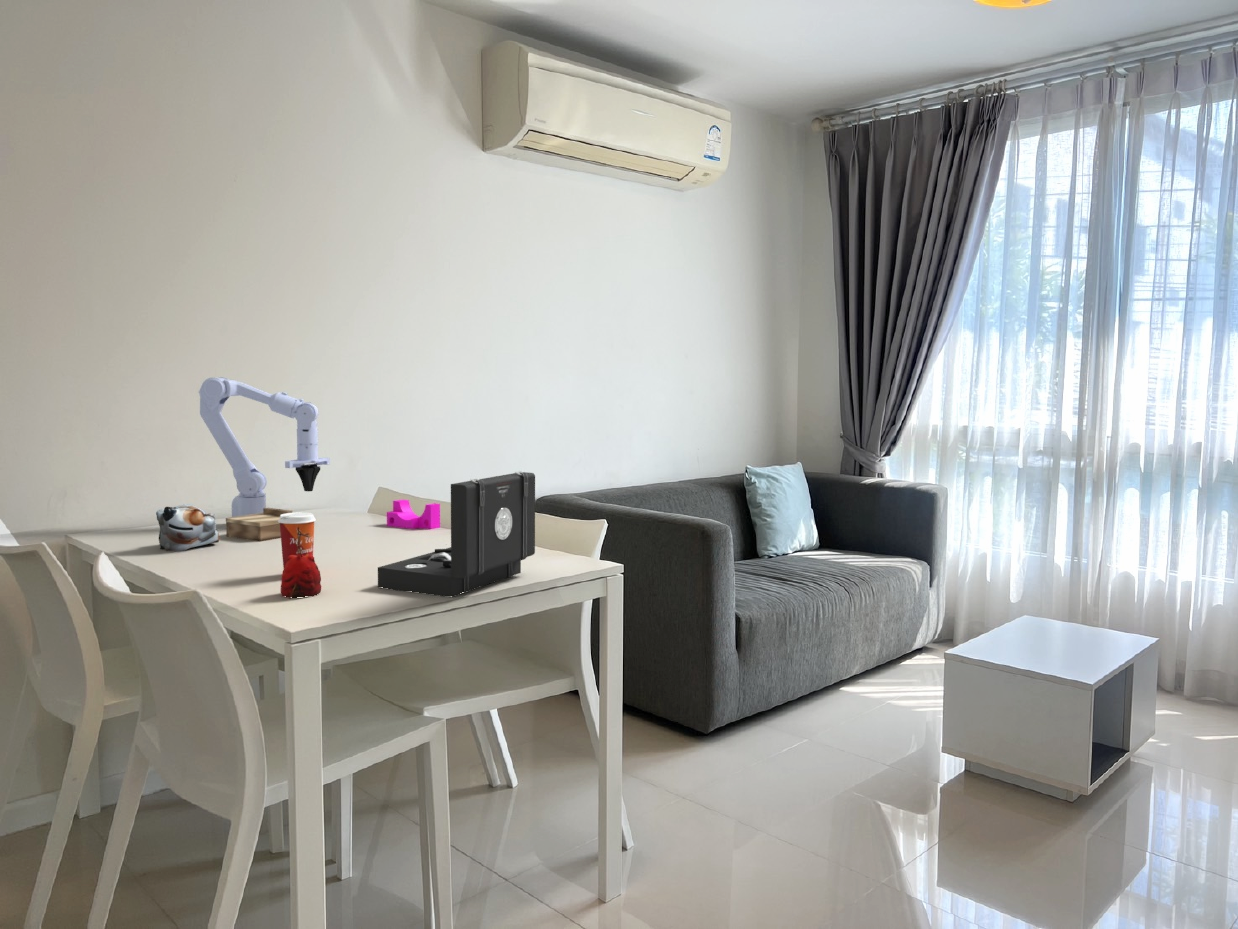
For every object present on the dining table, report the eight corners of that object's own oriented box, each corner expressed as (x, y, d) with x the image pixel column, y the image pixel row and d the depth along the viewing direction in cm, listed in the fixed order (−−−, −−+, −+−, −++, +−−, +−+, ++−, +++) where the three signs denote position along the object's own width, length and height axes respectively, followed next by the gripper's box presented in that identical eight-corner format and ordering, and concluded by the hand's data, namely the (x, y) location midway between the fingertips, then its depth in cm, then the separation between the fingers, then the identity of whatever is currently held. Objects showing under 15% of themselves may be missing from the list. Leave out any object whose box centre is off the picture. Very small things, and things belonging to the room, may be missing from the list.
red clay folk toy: (323, 594, 184) (322, 521, 182) (318, 603, 177) (316, 526, 175) (284, 595, 182) (282, 521, 181) (276, 604, 176) (275, 527, 174)
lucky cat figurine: (229, 538, 237) (224, 491, 231) (211, 564, 226) (205, 516, 220) (170, 533, 236) (163, 486, 230) (149, 559, 226) (141, 510, 219)
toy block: (386, 527, 265) (386, 501, 265) (402, 524, 271) (402, 499, 270) (424, 532, 258) (424, 506, 257) (440, 529, 263) (440, 503, 262)
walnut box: (226, 536, 246) (226, 522, 245) (264, 530, 256) (263, 516, 256) (260, 542, 239) (260, 527, 238) (298, 535, 249) (297, 521, 248)
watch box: (432, 567, 212) (431, 463, 209) (536, 580, 200) (537, 469, 197) (355, 591, 188) (353, 473, 186) (469, 607, 176) (468, 481, 174)
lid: (225, 521, 245) (225, 512, 245) (263, 516, 255) (263, 507, 255) (260, 526, 238) (259, 517, 238) (297, 520, 248) (297, 511, 248)
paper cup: (295, 584, 192) (293, 518, 191) (271, 579, 196) (270, 515, 195) (325, 577, 199) (323, 513, 197) (301, 573, 203) (300, 510, 201)
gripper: (296, 446, 256) (297, 494, 258) (336, 443, 269) (337, 489, 270) (279, 445, 260) (280, 492, 261) (320, 442, 272) (320, 487, 274)
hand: (308, 491), depth 266 cm, fingers closed
